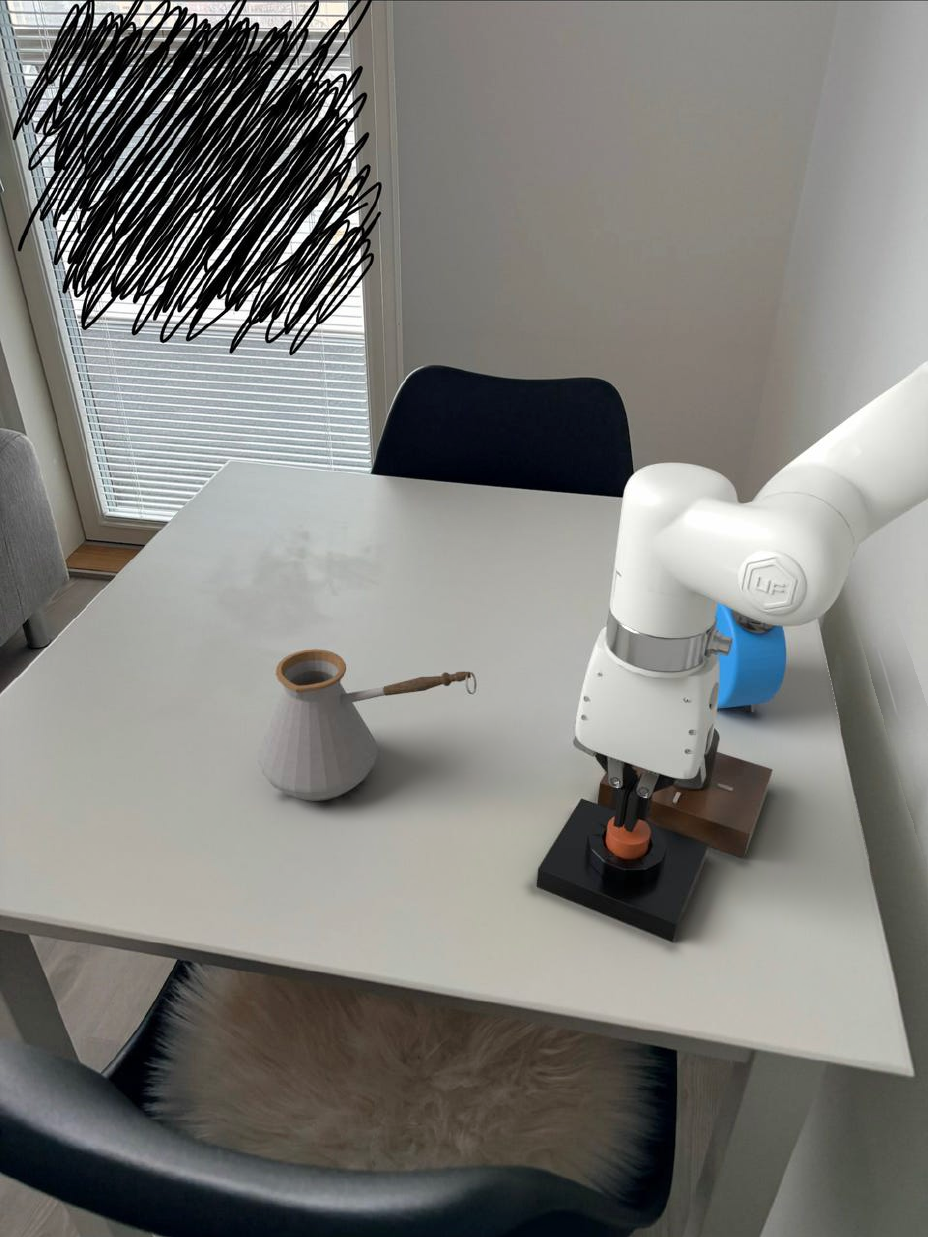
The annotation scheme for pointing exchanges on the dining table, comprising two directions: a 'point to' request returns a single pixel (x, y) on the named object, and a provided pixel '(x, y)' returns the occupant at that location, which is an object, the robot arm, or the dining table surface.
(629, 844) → the push knob
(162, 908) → the dining table surface
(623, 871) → the black button base
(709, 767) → the dial
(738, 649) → the alarm clock
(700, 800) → the dial panel
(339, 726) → the coffee pot
